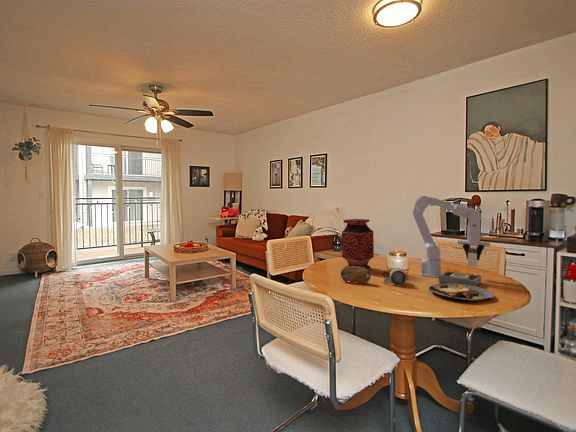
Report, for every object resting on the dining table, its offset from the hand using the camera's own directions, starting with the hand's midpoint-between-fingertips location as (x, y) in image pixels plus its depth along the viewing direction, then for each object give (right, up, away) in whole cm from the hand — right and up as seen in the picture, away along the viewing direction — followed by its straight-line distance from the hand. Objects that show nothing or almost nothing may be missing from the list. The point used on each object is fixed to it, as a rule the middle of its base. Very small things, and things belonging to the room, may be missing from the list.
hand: (473, 259), depth 165 cm
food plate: (-21, -13, -25) cm, 35 cm away
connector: (0, -4, 0) cm, 3 cm away
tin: (-62, -12, -2) cm, 63 cm away
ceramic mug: (-43, -12, -6) cm, 45 cm away
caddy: (-11, -11, -6) cm, 16 cm away
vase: (-54, -10, +28) cm, 61 cm away
